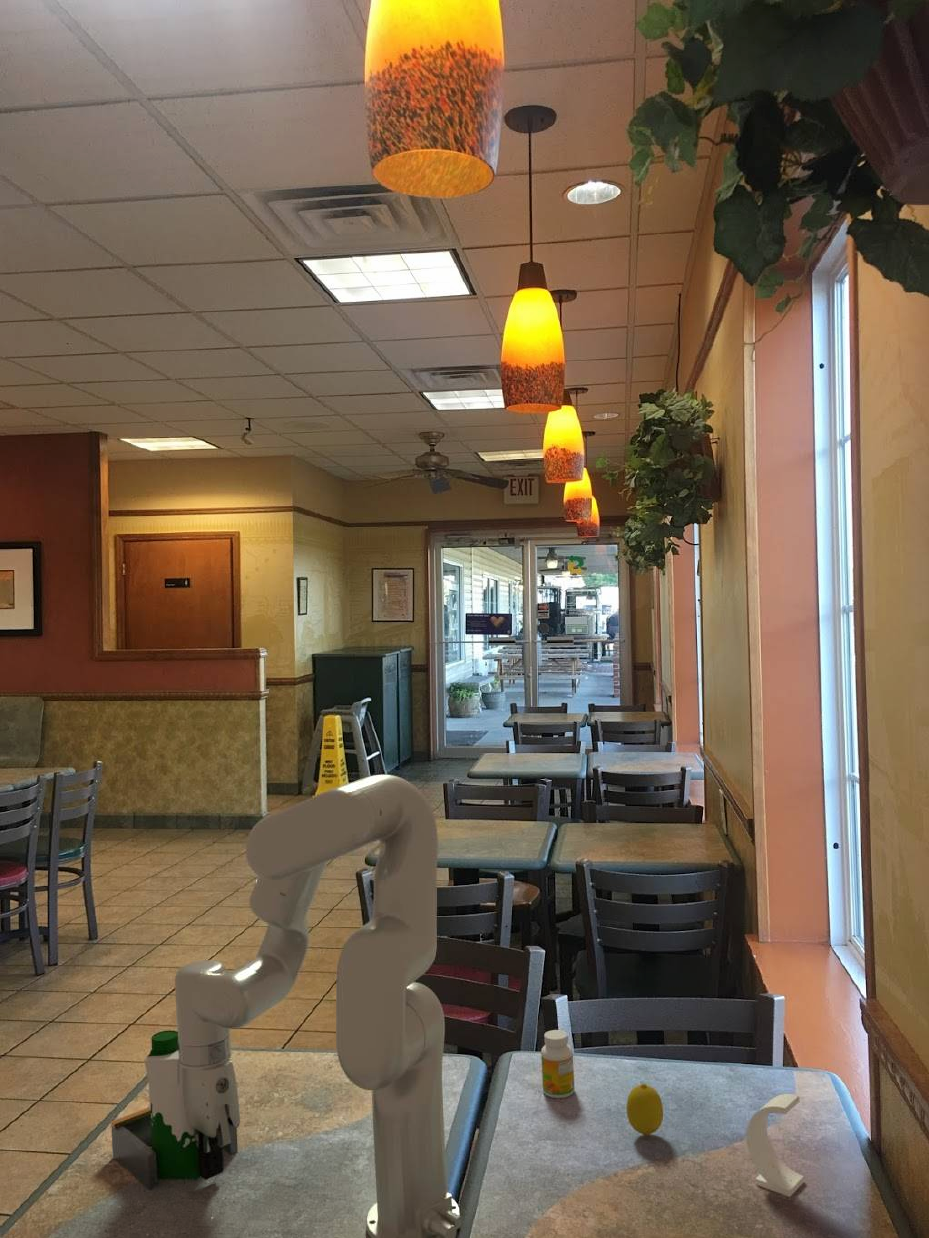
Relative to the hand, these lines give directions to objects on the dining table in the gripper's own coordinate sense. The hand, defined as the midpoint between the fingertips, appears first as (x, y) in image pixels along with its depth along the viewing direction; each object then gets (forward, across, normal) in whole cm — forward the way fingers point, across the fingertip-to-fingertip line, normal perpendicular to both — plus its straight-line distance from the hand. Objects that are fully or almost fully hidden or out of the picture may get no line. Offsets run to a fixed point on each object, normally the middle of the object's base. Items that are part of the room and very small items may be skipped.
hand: (211, 1173), depth 145 cm
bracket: (+1, +11, 0) cm, 11 cm away
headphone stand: (+2, -60, -55) cm, 81 cm away
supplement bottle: (+2, -19, -55) cm, 58 cm away
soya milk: (+2, +7, +1) cm, 7 cm away
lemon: (+2, -39, -53) cm, 66 cm away
